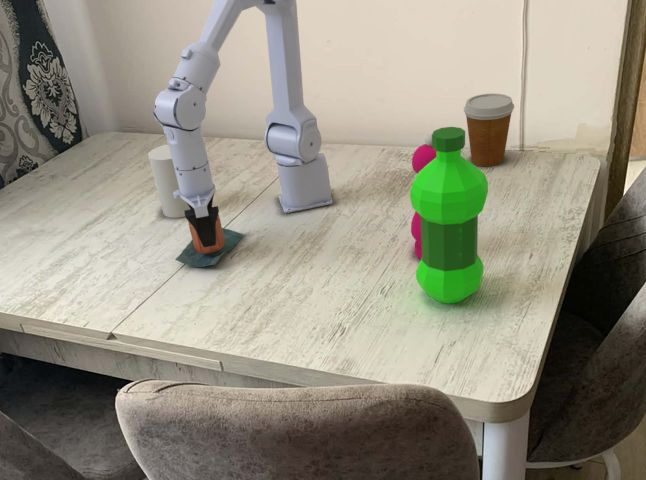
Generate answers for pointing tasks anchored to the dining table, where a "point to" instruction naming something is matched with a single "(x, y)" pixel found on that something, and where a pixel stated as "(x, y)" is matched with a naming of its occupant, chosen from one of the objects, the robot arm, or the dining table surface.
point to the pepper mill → (418, 163)
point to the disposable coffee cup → (488, 127)
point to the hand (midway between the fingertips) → (208, 237)
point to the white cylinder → (166, 182)
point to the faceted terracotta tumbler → (210, 249)
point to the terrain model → (205, 259)
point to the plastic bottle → (449, 219)
